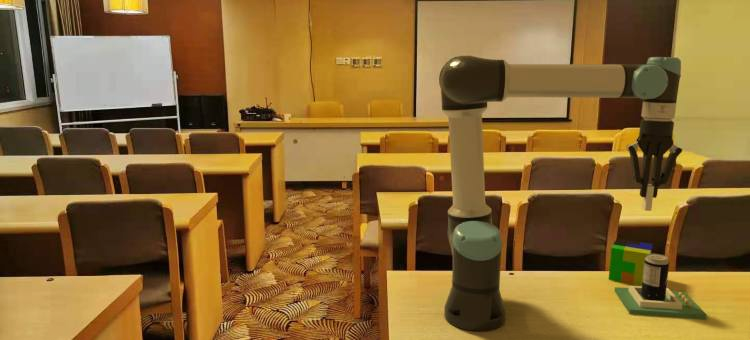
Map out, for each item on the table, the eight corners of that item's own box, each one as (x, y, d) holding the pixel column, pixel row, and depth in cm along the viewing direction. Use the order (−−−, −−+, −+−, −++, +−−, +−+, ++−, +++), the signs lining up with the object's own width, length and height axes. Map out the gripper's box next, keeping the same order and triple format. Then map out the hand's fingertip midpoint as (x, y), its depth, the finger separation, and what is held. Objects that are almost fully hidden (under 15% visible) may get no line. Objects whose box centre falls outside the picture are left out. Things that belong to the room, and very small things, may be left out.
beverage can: (667, 305, 138) (672, 261, 136) (644, 303, 139) (648, 259, 137) (661, 296, 144) (665, 253, 141) (638, 294, 145) (642, 252, 142)
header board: (629, 313, 136) (630, 303, 136) (614, 291, 150) (615, 282, 149) (706, 319, 133) (707, 309, 133) (683, 295, 147) (684, 286, 146)
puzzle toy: (649, 275, 161) (653, 244, 159) (646, 287, 153) (649, 254, 151) (614, 269, 166) (616, 238, 164) (608, 280, 158) (611, 247, 156)
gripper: (634, 119, 133) (623, 211, 137) (691, 121, 130) (678, 214, 135) (626, 116, 140) (616, 204, 145) (679, 118, 138) (668, 207, 142)
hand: (646, 209), depth 140 cm, fingers closed
